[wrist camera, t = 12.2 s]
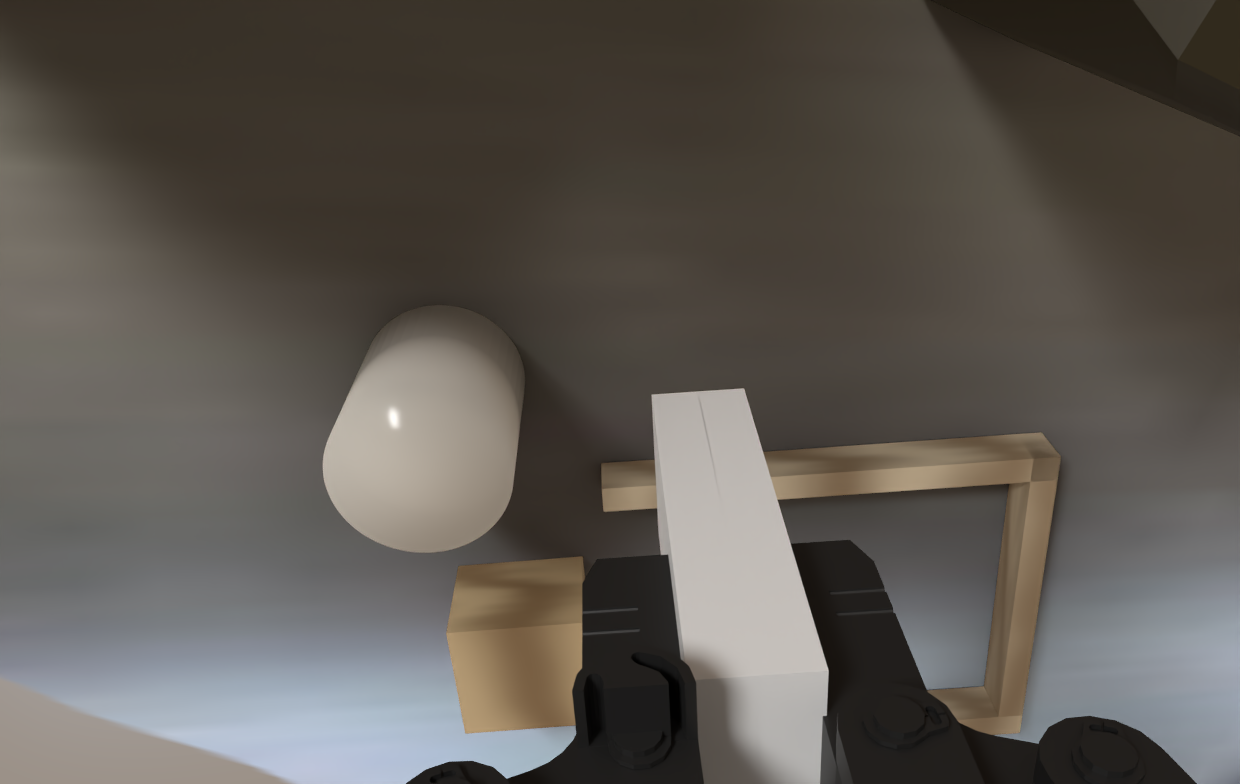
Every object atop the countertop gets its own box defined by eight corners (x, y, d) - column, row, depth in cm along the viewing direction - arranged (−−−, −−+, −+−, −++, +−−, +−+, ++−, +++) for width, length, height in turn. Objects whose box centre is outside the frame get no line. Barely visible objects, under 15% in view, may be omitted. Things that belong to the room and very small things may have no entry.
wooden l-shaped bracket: (623, 728, 55) (624, 760, 53) (601, 463, 48) (601, 488, 46) (1004, 701, 55) (1019, 732, 53) (1041, 432, 48) (1060, 456, 46)
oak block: (475, 660, 53) (465, 733, 49) (458, 564, 50) (446, 633, 46) (593, 651, 53) (593, 723, 49) (582, 555, 50) (582, 622, 46)
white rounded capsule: (378, 453, 47) (341, 558, 40) (351, 310, 44) (305, 397, 37) (532, 442, 47) (523, 546, 40) (516, 299, 44) (502, 384, 37)
